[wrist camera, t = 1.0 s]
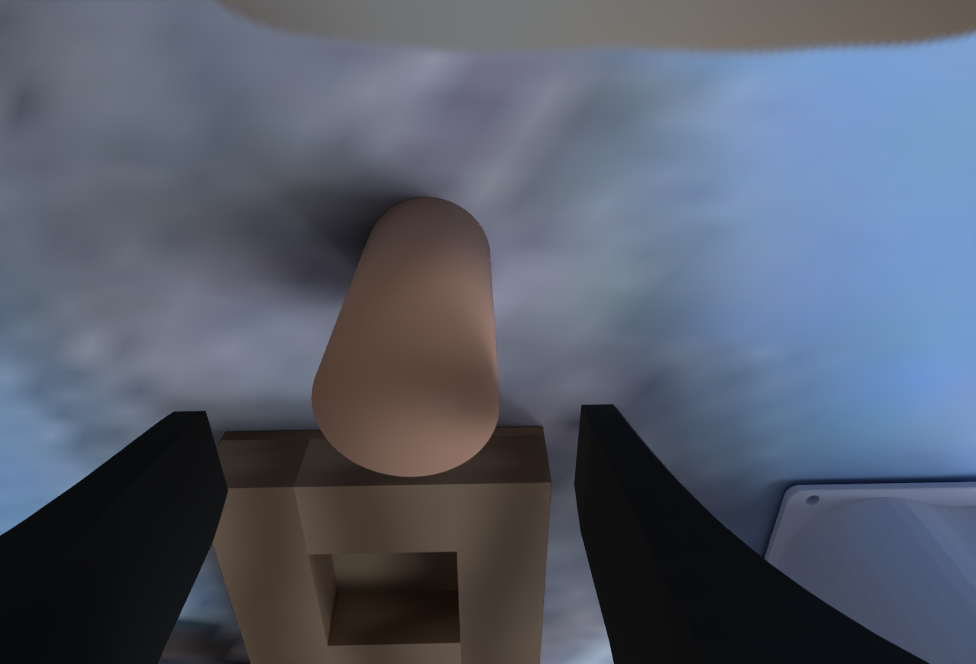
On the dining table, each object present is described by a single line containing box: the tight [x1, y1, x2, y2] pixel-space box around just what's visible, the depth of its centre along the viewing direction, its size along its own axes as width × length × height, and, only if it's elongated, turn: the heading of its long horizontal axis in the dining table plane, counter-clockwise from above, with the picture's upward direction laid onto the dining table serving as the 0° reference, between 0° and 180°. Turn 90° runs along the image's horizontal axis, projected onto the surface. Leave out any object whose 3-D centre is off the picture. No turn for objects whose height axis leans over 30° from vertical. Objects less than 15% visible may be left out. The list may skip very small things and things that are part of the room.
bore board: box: [212, 427, 551, 664], centre depth 28 cm, size 12×22×3 cm, turn 0°
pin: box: [312, 198, 500, 477], centre depth 17 cm, size 4×4×8 cm
